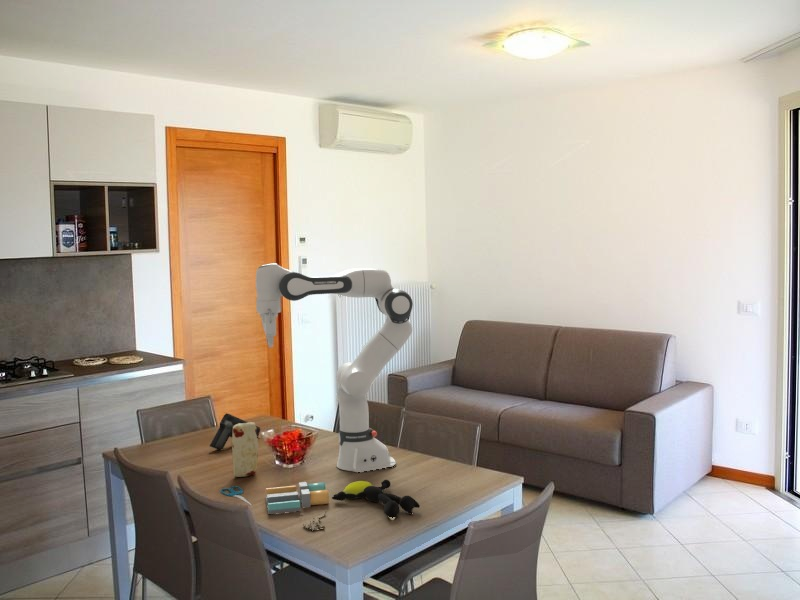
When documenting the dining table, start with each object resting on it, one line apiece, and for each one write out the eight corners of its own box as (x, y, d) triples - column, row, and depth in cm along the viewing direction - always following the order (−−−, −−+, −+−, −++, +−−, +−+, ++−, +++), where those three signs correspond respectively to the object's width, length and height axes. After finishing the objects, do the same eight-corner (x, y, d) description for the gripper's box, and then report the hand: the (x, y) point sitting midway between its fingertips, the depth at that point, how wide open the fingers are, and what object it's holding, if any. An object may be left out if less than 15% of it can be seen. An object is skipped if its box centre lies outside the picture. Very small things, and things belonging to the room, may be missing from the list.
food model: (237, 480, 257) (235, 426, 255) (229, 476, 262) (227, 422, 260) (261, 475, 262) (260, 421, 261) (254, 470, 268) (252, 418, 266)
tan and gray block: (327, 500, 234) (326, 487, 234) (329, 505, 230) (328, 491, 230) (301, 503, 232) (300, 489, 232) (302, 508, 228) (302, 494, 228)
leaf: (313, 535, 207) (313, 529, 207) (286, 521, 219) (285, 514, 219) (345, 525, 214) (345, 519, 214) (316, 511, 226) (316, 505, 226)
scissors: (237, 485, 250) (261, 502, 233) (237, 488, 250) (261, 504, 234) (218, 489, 246) (242, 506, 230) (219, 492, 246) (242, 509, 230)
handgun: (250, 460, 311) (261, 427, 316) (213, 446, 292) (225, 411, 297) (246, 460, 312) (257, 427, 317) (209, 446, 294) (220, 411, 299)
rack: (296, 495, 240) (295, 485, 239) (300, 511, 225) (300, 501, 225) (266, 498, 237) (265, 488, 237) (268, 515, 223) (268, 504, 222)
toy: (438, 506, 228) (378, 488, 250) (437, 488, 227) (377, 471, 250) (383, 527, 212) (324, 505, 235) (382, 507, 212) (323, 487, 234)
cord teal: (324, 493, 242) (323, 480, 241) (325, 497, 237) (325, 484, 237) (299, 495, 240) (298, 482, 239) (300, 500, 235) (300, 486, 235)
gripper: (279, 309, 251) (280, 348, 252) (275, 305, 270) (276, 341, 271) (261, 310, 249) (262, 349, 250) (258, 306, 269) (260, 342, 270)
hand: (269, 345), depth 261 cm, fingers open, 8 cm apart
